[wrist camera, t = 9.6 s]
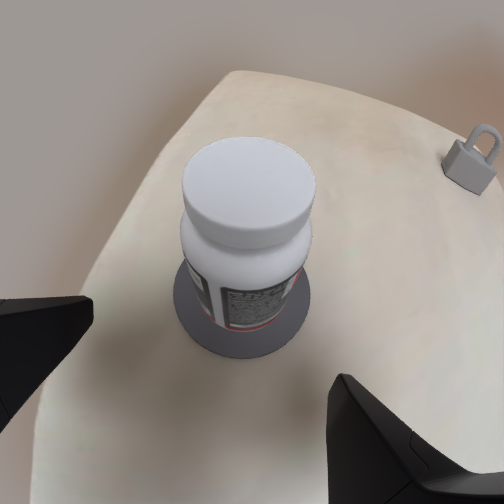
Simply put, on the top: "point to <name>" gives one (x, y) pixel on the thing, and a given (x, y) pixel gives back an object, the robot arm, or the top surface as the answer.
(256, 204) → the pill bottle
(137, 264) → the top surface
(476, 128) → the padlock
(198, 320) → the coaster
